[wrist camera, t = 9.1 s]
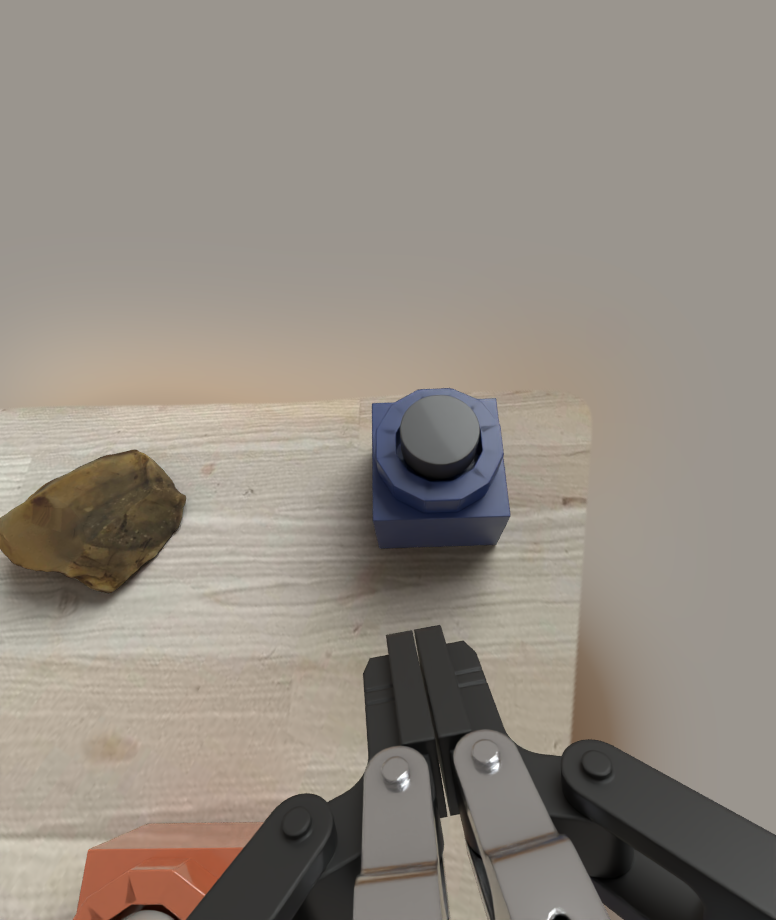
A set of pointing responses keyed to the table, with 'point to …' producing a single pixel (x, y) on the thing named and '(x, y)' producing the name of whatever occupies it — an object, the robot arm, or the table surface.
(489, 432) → the near button housing
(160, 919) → the light grey short cylinder
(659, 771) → the robot arm
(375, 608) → the table surface
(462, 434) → the grey push button
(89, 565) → the decorative stone
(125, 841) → the button base
